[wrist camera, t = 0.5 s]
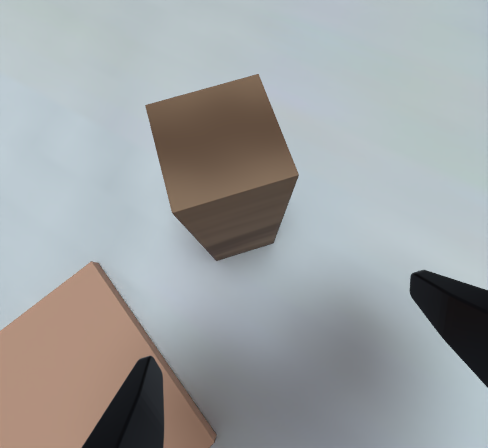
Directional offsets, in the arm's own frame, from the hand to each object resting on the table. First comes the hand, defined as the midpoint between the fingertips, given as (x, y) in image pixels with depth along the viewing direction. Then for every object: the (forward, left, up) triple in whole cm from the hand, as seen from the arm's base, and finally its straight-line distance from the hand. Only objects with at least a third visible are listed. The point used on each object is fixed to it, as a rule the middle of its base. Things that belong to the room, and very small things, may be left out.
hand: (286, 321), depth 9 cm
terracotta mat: (+4, +16, -13) cm, 21 cm away
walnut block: (+7, -3, -13) cm, 15 cm away
